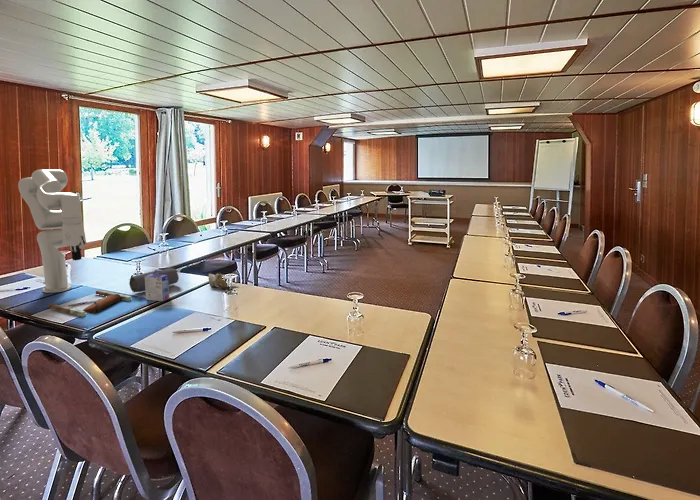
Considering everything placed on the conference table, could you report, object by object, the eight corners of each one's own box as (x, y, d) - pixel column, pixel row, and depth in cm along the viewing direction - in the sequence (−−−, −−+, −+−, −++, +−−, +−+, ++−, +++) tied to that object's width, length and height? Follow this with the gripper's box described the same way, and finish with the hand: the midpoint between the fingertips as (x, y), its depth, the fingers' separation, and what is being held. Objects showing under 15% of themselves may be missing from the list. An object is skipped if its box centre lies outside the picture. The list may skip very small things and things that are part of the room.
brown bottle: (105, 299, 204) (111, 288, 202) (118, 306, 204) (123, 296, 203) (79, 312, 186) (85, 300, 185) (93, 320, 186) (99, 308, 185)
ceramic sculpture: (214, 268, 233) (238, 272, 229) (214, 282, 235) (237, 287, 231) (203, 273, 223) (227, 277, 219) (203, 288, 225) (227, 292, 221)
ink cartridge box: (170, 298, 208) (168, 270, 205) (163, 301, 202) (161, 273, 199) (153, 296, 210) (150, 269, 207) (145, 300, 204) (143, 271, 201)
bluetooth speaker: (170, 283, 233) (169, 266, 231) (179, 286, 228) (178, 268, 226) (129, 292, 215) (127, 274, 213) (138, 296, 210) (137, 277, 207)
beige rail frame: (48, 308, 190) (48, 304, 189) (98, 293, 212) (98, 290, 212) (82, 316, 181) (81, 312, 181) (131, 300, 203) (130, 296, 203)
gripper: (53, 220, 190) (58, 259, 194) (75, 223, 185) (79, 263, 188) (70, 218, 197) (74, 256, 201) (91, 221, 191) (95, 259, 195)
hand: (77, 259), depth 195 cm, fingers closed
